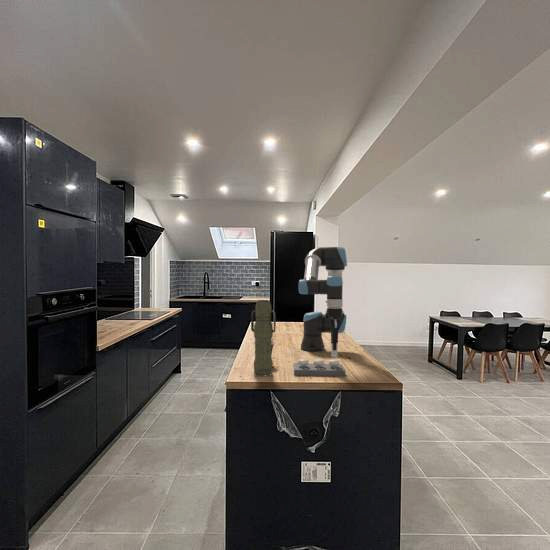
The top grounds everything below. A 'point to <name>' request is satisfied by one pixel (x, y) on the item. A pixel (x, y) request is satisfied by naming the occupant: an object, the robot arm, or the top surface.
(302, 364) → the button two dots
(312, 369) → the button panel
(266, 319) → the thermos
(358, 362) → the top surface
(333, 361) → the button one dot
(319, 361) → the button three dots
